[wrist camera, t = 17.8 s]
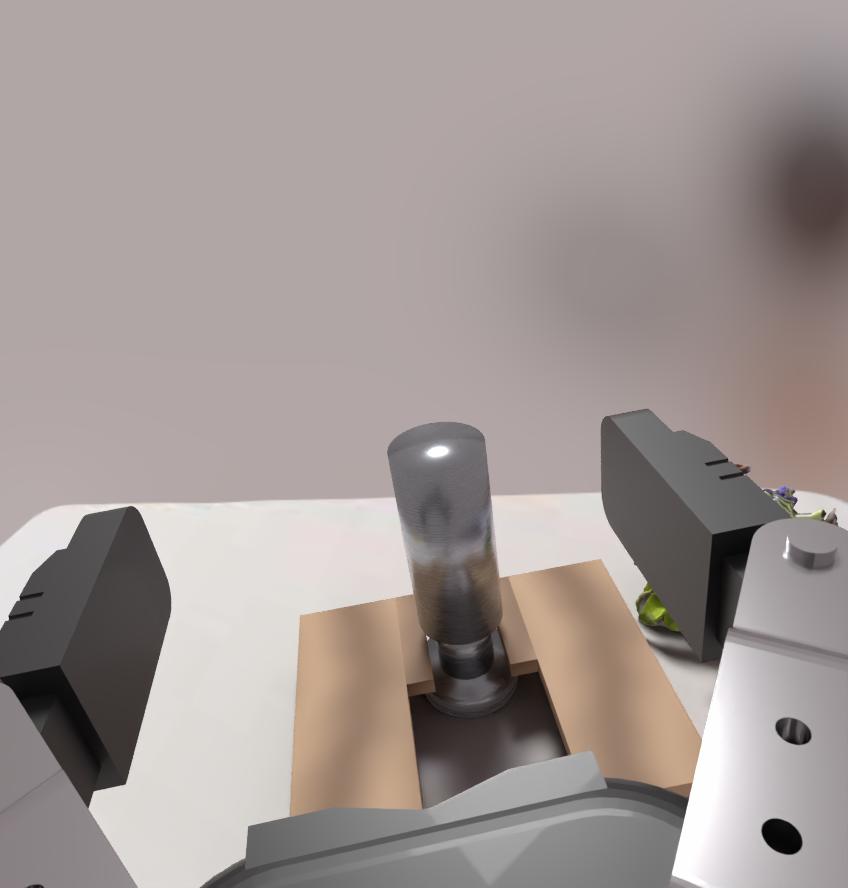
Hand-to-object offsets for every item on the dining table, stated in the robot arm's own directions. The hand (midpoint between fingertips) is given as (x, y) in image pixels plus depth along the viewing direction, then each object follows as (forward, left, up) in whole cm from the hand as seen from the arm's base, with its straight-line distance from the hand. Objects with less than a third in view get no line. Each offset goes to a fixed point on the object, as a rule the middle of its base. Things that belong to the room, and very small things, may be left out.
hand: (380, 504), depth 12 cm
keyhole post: (+2, +20, -28) cm, 34 cm away
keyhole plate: (+2, +17, -27) cm, 32 cm away
